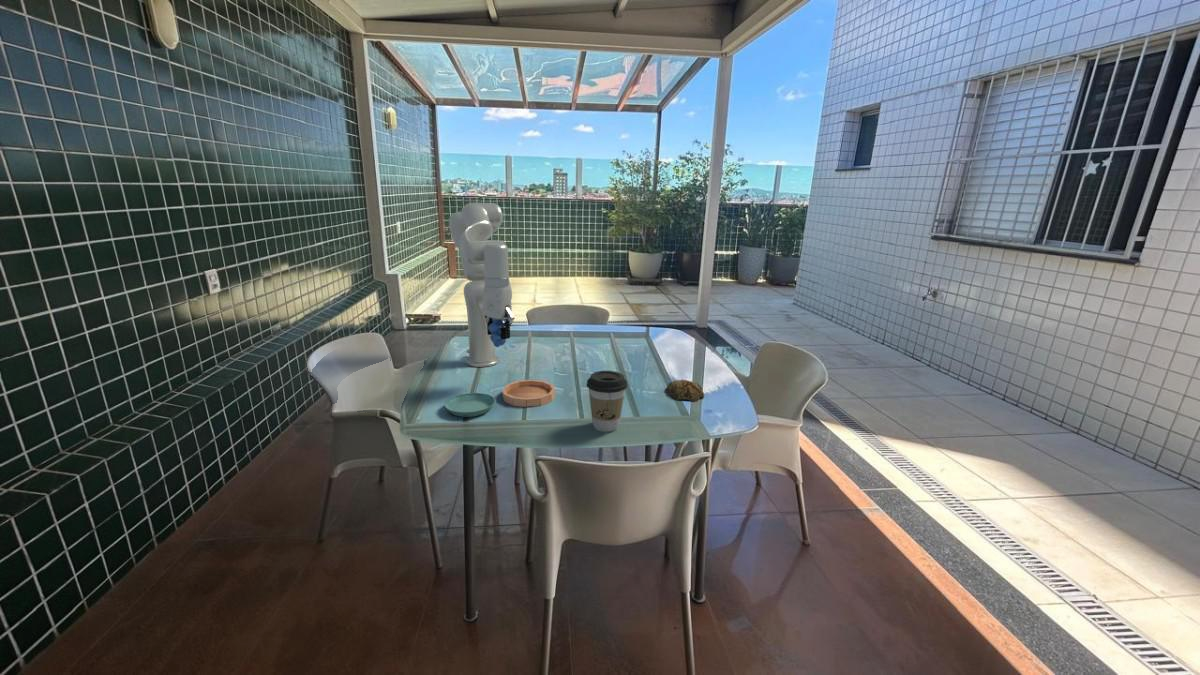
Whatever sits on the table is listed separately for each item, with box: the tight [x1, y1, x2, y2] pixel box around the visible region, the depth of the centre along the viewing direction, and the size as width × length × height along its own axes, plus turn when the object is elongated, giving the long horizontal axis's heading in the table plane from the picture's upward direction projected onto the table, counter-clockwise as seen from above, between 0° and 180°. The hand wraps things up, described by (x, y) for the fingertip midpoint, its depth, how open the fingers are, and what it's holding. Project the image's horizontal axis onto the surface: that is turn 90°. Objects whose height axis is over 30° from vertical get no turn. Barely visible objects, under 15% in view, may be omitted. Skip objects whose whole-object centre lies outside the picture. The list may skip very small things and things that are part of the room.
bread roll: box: [666, 379, 705, 402], centre depth 160 cm, size 13×12×5 cm
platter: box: [502, 379, 556, 408], centre depth 156 cm, size 16×16×2 cm
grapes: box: [488, 318, 507, 348], centre depth 159 cm, size 12×7×12 cm, turn 166°
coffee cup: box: [586, 370, 629, 433], centre depth 134 cm, size 11×11×15 cm
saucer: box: [444, 392, 496, 418], centre depth 145 cm, size 15×15×3 cm
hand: (498, 336), depth 159 cm, fingers closed on grapes, 6 cm apart
